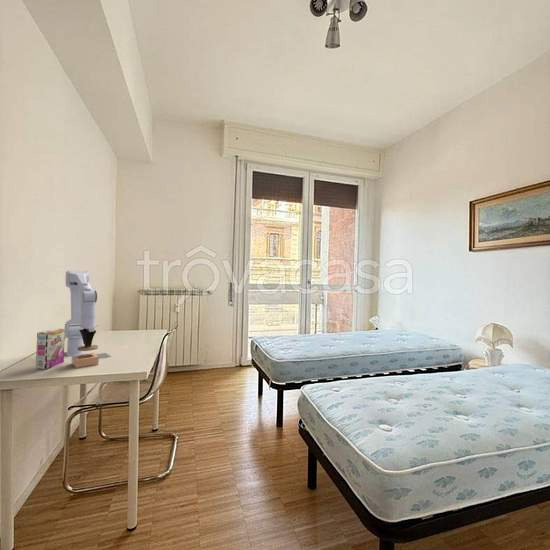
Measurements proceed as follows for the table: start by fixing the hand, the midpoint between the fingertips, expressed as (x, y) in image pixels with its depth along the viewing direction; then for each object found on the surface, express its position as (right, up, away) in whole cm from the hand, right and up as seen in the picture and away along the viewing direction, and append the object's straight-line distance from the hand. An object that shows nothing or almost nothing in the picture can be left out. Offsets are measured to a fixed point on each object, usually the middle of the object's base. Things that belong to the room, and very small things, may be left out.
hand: (87, 344), depth 142 cm
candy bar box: (-14, -9, -4) cm, 17 cm away
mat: (-2, -9, +12) cm, 15 cm away
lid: (0, -2, 0) cm, 2 cm away
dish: (0, -9, -2) cm, 9 cm away
